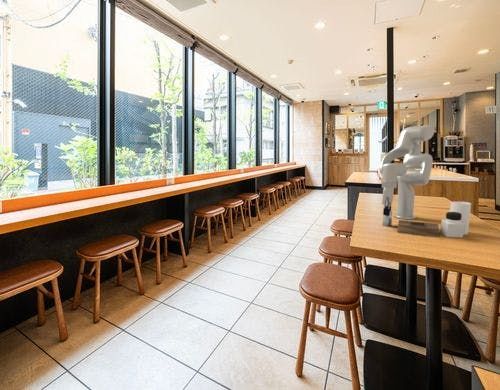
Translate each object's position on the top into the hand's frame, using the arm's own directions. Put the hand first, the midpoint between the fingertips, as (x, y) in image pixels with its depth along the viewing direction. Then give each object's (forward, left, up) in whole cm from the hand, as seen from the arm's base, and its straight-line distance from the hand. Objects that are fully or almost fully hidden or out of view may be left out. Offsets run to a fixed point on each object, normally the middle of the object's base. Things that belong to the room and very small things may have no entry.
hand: (387, 213), depth 148 cm
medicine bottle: (+5, +30, -7) cm, 31 cm away
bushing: (-1, 0, -7) cm, 7 cm away
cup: (-3, +33, -7) cm, 34 cm away
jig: (+5, +15, -7) cm, 18 cm away
